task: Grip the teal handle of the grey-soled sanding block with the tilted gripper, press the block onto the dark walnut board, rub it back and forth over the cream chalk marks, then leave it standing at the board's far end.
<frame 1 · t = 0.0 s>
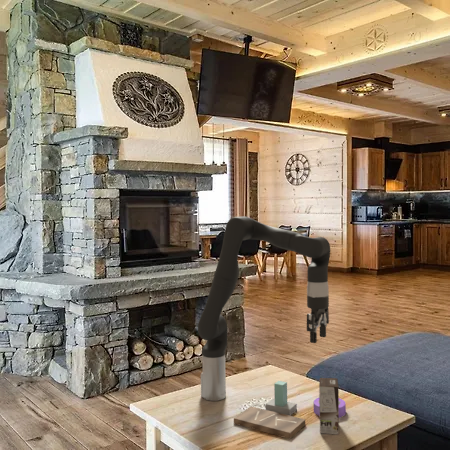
hand: (318, 339, 176), 29 cm above the table, tool pointing down, fingers open, 8 cm apart
coffee box: (329, 428, 172), on the table
sanding block: (281, 410, 188), on the table
masking tape: (329, 412, 185), on the table
walnut board: (269, 424, 176), on the table
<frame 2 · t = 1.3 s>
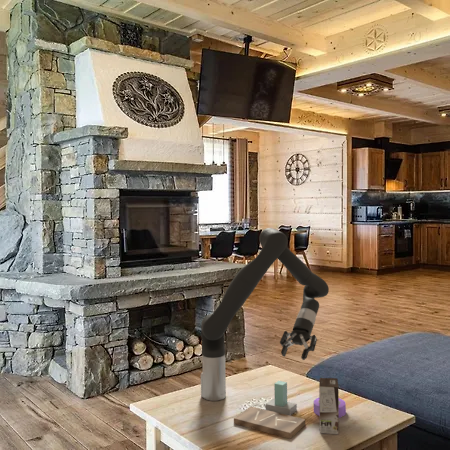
hand: (292, 357, 195), 17 cm above the table, tool tilted 45°, fingers open, 8 cm apart
nothing on the table moved.
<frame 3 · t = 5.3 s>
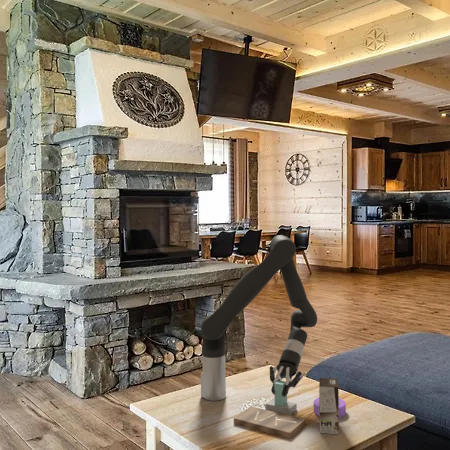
hand: (278, 394, 186), 7 cm above the table, tool tilted 45°, fingers closed on sanding block, 3 cm apart
sanding block: (281, 410, 187), on the table, touching gripper
everything else where it was.
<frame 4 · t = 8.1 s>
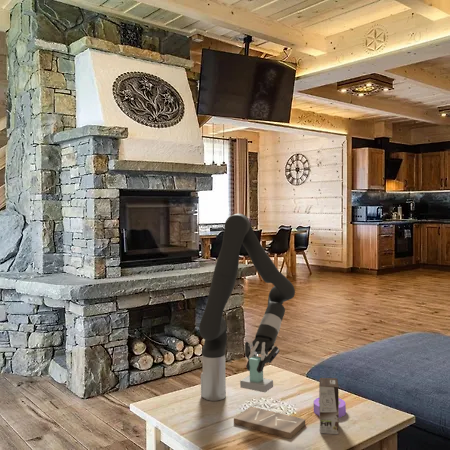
hand: (253, 370, 176), 19 cm above the table, tool tilted 45°, fingers closed on sanding block, 3 cm apart
sanding block: (256, 387, 178), point 12 cm above the table, touching gripper
everything else where it was.
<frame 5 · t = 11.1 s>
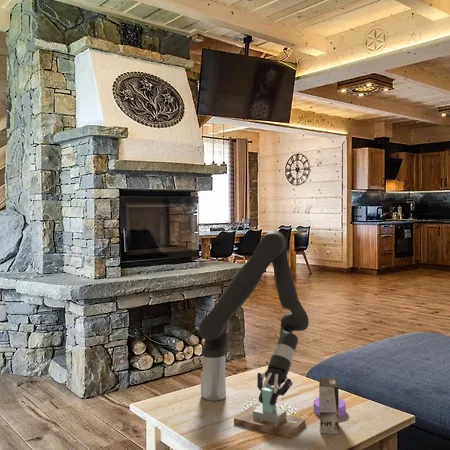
hand: (266, 403, 174), 8 cm above the table, tool tilted 45°, fingers closed on sanding block, 3 cm apart
sanding block: (269, 417, 176), point 2 cm above the table, touching gripper
everything else where it was.
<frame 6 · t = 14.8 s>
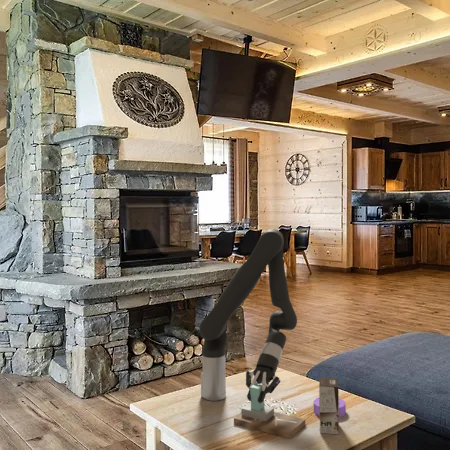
hand: (254, 400, 176), 8 cm above the table, tool tilted 45°, fingers closed on sanding block, 3 cm apart
sanding block: (257, 414, 179), point 2 cm above the table, touching gripper, walnut board
everything else where it was.
when the fingers open (8 cm above the table, at t = 17.3 s): sanding block stays where it is, resting on walnut board.
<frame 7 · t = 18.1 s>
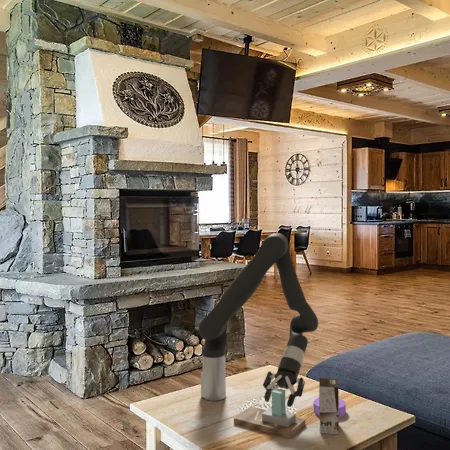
hand: (277, 403, 172), 9 cm above the table, tool tilted 45°, fingers open, 8 cm apart
sanding block: (278, 420, 174), point 2 cm above the table, touching walnut board
everything else where it was.
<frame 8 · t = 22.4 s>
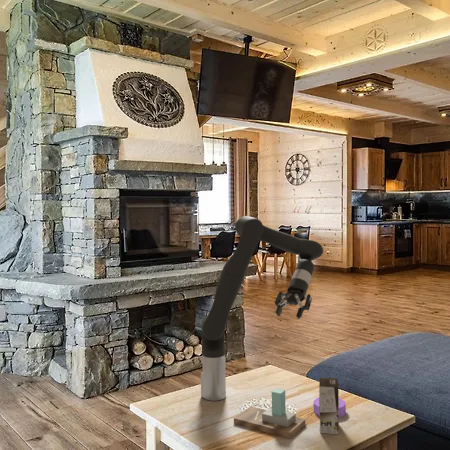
hand: (287, 316, 194), 34 cm above the table, tool tilted 45°, fingers open, 8 cm apart
nothing on the table moved.
at the end: sanding block inside the target area on the walnut board (0.9 cm from its centre), point 2.0 cm above the walnut board's base; sanding block tilted 0°; the gripper is holding nothing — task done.
